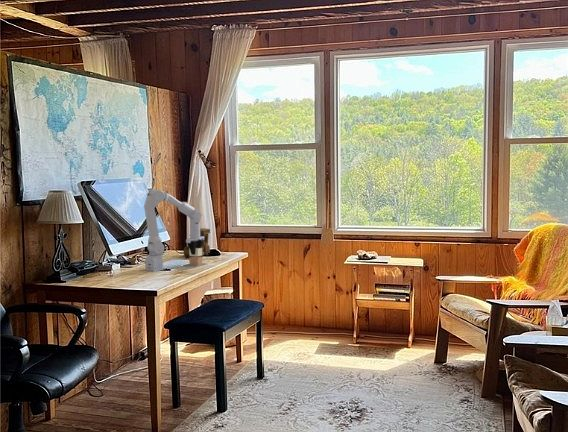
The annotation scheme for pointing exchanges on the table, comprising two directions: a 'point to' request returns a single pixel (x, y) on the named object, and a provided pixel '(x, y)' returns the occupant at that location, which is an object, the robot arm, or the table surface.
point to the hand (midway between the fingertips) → (195, 253)
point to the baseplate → (185, 267)
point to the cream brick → (196, 252)
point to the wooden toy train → (205, 245)
